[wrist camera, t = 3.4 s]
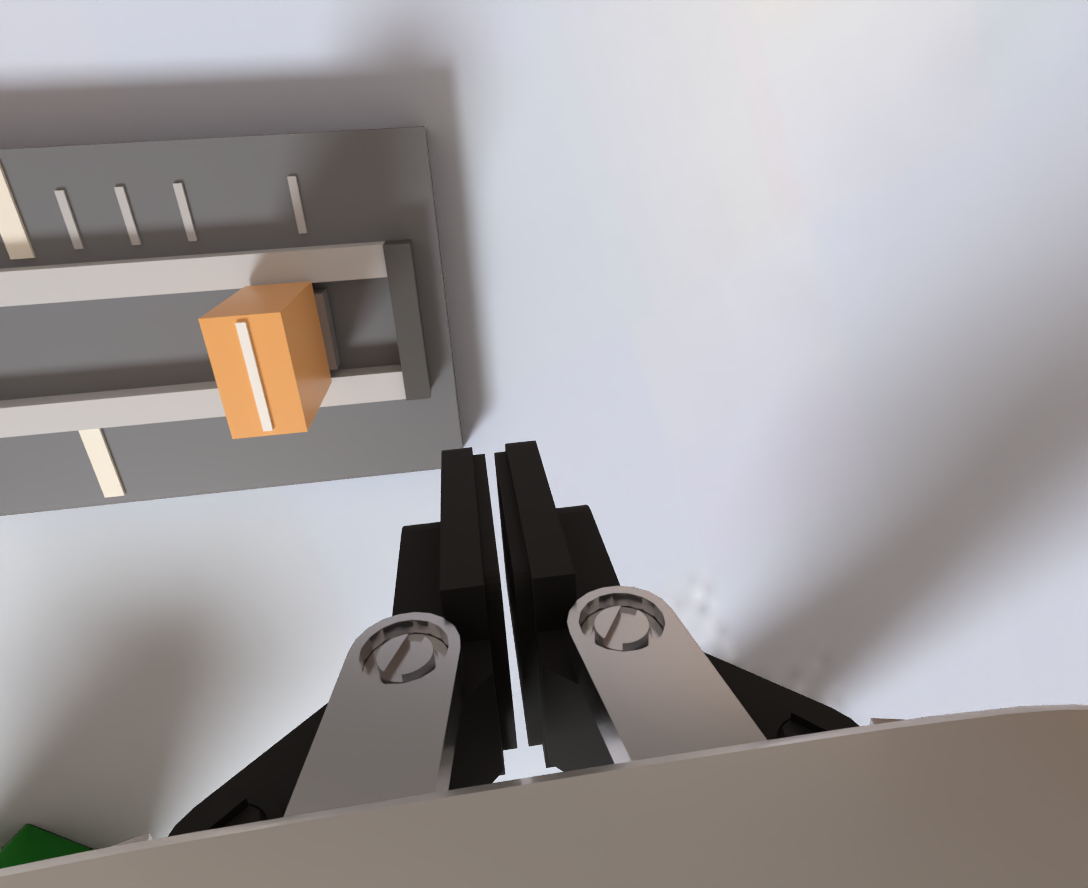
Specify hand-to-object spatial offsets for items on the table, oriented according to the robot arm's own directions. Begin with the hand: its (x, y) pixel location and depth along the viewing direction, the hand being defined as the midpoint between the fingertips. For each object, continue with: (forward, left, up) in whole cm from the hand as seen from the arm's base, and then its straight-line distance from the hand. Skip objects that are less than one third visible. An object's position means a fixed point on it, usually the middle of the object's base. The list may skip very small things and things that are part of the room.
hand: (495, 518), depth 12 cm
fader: (+7, 0, -16) cm, 18 cm away
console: (+12, 0, -19) cm, 22 cm away
